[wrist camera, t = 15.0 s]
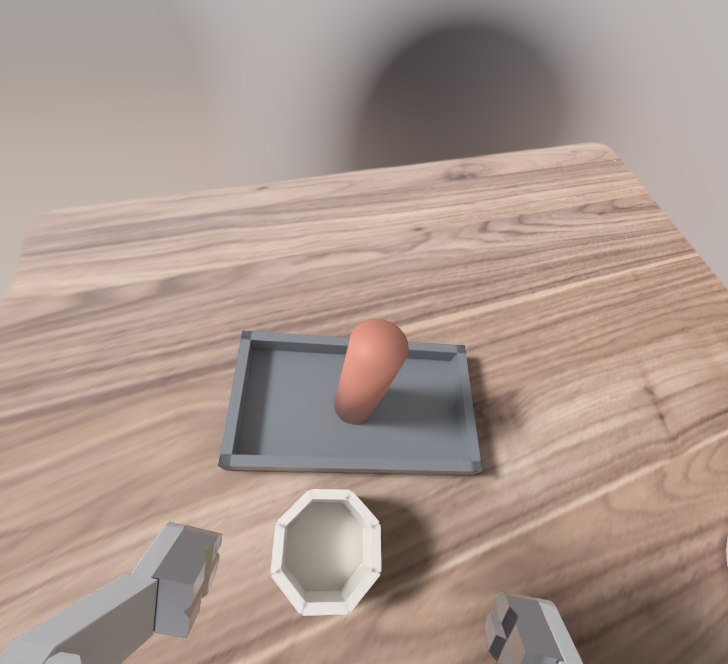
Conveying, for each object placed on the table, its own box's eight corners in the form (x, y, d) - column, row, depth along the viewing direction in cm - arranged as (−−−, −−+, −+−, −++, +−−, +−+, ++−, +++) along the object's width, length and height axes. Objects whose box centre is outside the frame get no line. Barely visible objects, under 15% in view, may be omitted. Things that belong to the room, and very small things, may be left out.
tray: (455, 356, 36) (464, 345, 34) (469, 475, 31) (482, 471, 29) (246, 343, 34) (242, 330, 31) (224, 470, 28) (218, 465, 26)
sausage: (374, 386, 33) (407, 321, 22) (374, 425, 31) (410, 375, 21) (334, 384, 32) (350, 316, 22) (333, 423, 31) (348, 371, 20)
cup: (368, 495, 29) (380, 490, 25) (369, 598, 26) (381, 613, 22) (283, 494, 28) (279, 488, 24) (272, 600, 25) (266, 616, 21)
